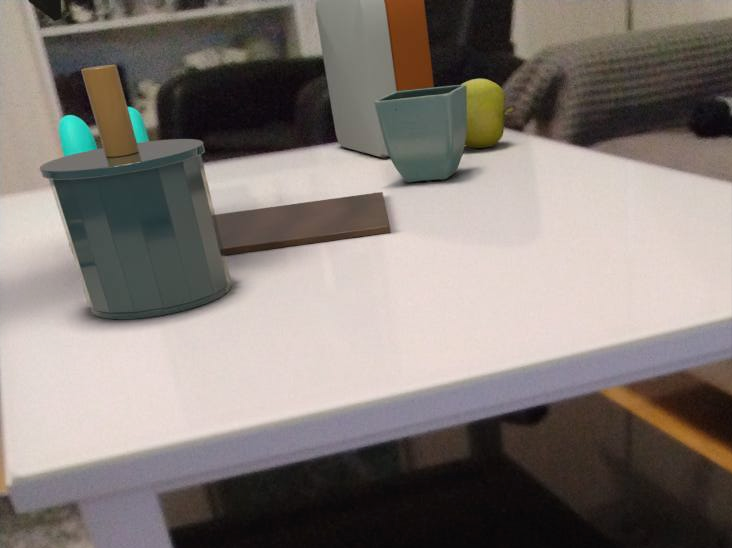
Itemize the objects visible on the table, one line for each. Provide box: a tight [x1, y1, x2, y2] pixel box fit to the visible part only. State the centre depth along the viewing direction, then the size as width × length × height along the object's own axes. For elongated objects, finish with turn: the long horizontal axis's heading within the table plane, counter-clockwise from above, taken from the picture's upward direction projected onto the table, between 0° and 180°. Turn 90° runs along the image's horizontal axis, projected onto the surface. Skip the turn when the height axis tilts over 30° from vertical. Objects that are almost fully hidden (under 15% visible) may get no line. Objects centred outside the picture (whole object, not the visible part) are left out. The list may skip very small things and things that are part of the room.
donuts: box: [58, 106, 150, 157], centre depth 128 cm, size 10×10×10 cm
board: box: [215, 191, 391, 256], centre depth 104 cm, size 20×18×1 cm
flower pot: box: [374, 84, 467, 183], centre depth 117 cm, size 9×9×9 cm
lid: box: [39, 64, 206, 180], centre depth 78 cm, size 13×13×7 cm
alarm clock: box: [315, 0, 435, 159], centre depth 137 cm, size 18×9×21 cm, turn 26°
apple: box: [460, 78, 515, 149], centre depth 131 cm, size 8×9×8 cm
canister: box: [48, 154, 232, 320], centre depth 83 cm, size 12×12×10 cm
